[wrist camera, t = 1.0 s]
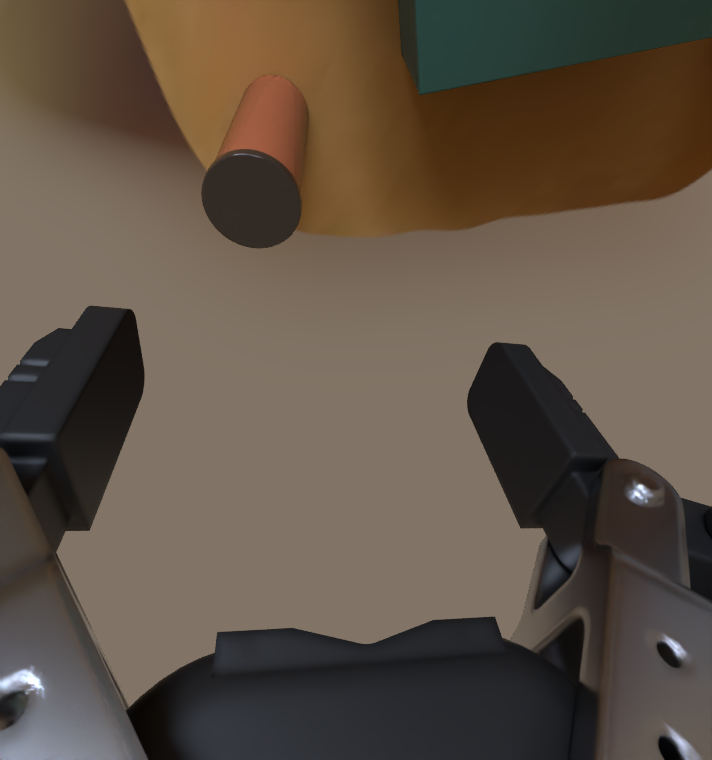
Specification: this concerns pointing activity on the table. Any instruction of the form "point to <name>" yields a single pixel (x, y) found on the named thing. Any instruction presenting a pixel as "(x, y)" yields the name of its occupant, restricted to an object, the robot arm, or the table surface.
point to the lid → (541, 35)
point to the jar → (260, 166)
